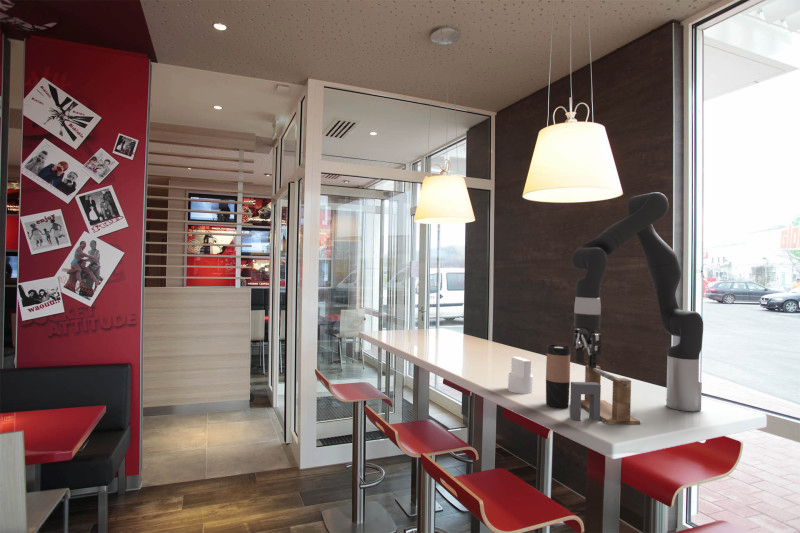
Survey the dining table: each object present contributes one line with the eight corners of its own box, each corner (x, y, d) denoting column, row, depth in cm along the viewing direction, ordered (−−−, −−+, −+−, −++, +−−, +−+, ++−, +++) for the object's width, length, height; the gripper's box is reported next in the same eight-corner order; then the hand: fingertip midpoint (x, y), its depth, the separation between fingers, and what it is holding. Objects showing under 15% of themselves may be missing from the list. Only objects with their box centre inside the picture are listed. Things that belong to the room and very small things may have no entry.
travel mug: (553, 409, 149) (555, 348, 149) (540, 403, 156) (542, 344, 156) (574, 408, 151) (575, 348, 151) (560, 401, 158) (561, 344, 158)
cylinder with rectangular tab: (503, 388, 175) (504, 357, 175) (523, 387, 178) (524, 356, 178) (516, 394, 167) (517, 361, 167) (537, 393, 169) (538, 360, 170)
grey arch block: (595, 417, 141) (596, 382, 141) (599, 421, 138) (600, 384, 138) (569, 417, 141) (570, 381, 141) (574, 420, 138) (574, 384, 138)
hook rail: (604, 403, 158) (605, 365, 158) (639, 424, 136) (640, 380, 136) (576, 402, 158) (576, 365, 158) (607, 423, 136) (608, 380, 136)
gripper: (610, 314, 133) (609, 370, 133) (588, 310, 147) (587, 360, 147) (585, 314, 133) (584, 369, 133) (566, 310, 147) (564, 360, 147)
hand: (585, 364), depth 140 cm, fingers open, 8 cm apart
